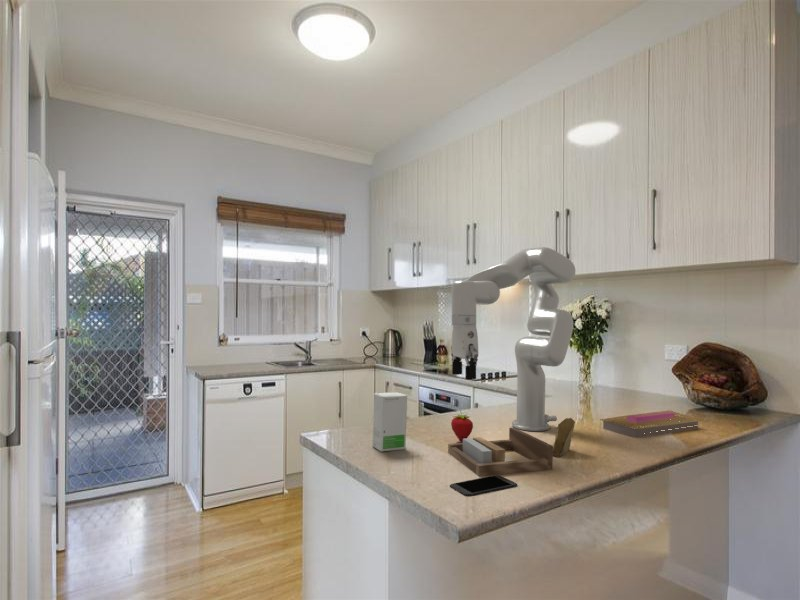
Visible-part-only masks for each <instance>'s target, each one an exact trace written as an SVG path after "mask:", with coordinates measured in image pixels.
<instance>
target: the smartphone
mask: <svg viewBox="0 0 800 600" xmlns="http://www.w3.org/2000/svg"><path fill="white" fill-rule="evenodd" d="M449 487H450V489H452V490H454V491H456V492H457V493H459V494H461V495H462V496H464V497H474V496H478V495H484V494H488V493H492V492H498V491H502V490H506V489H512V488H516V487H518V484H517V482H515V481H513V480H510V479H508V478H506V477H504V476H502V475H501V474H497V475H488V476H483V477H479V478H474V479H469V480H464V481H460V482H454V483H451V484H449Z"/></svg>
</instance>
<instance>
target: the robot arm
mask: <svg viewBox="0 0 800 600" xmlns="http://www.w3.org/2000/svg"><path fill="white" fill-rule="evenodd" d="M528 276H529V280H530V281H531V285H532V286H533V290H534V299H533V302H532V306H531V310H530V313H529V316H528V319H527V325H526V326H527V331H528V332H530V334H532V335H535V336H523V337H521V338H519V339H518V340H517V341H516V343H515V346H514V354H515V360H516V361H515V362H516V369H517V370H516V371H517V373H516V374H517V378H516V384H517V385H516V419H515V420H512V422H511V426H512V428H513V427H514V428H516V429H518V430H520V431H527V432H544V431H549V429H550V424H549V422H556V421H558V418H557V416H556V415H549V414H546V375H545V371H544V370H543V367H542V366H545V367H552V368H553V367H559V366H560V365H562V364H563V362H564V360H566V359H565V358H566V356H567V352H568V349H569V346H570V345H569V344H570V341H571V338H572V335H573V331H574V330H573V329H574V319H573V316H572V314H571V313H570V312H569V311H568V310H565V309H559V308H558V306H559V302H560V299H559V298H560V297H559V294H558V293H557V290H556V289H555V288H554V286H553V284H567V283H570V282H571V281H573V279H574V278H575V276H576V267H575V264H574V262H573V261H572V260H571V259H569V258H568V257H566V256H565V255H563V254H562V253H561V252H558V251H557V250H555V249H552V248H549V247H545V246H542V247H541V246H540V247H533V248H525V249H522V250H520V251H518V252H516V253H515V254H514V255H512V256H510V257H509V258H507V259H506V260H504V261H503V262H501V263H499V264H497V265H494V266H491V267H489V268H486V269H483V270H482V271H479V272H477V273H474V274H472V275H471V276H469V277H468V278H466V279H465V280H455V281H453V282H452V284H451V326H452V332H451V346H450V350H451V351H450V352H451V361H452V362H451V369H452V370H451V371H452V372H451V373H452V375H462V374H463V361H462V359H464V361H465V363H466V365H465V380H468V381H469V380H476V379H477V365H478V360H479V359H478V358H479V338H478V336H479V335H478V327H477V305H482V306H485V305H492V304H494V303H495V302H497V301H498V300H499V298H500V295H501V290H502V289H507V288H509V287H514V286H516V285H517V284H518V283H519V282H521V281H522V280H523V279H525V278H527V277H528ZM544 336H545V337H544Z"/></svg>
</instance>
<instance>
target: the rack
mask: <svg viewBox="0 0 800 600" xmlns="http://www.w3.org/2000/svg"><path fill="white" fill-rule="evenodd" d="M508 431H509V432H508V434H509V435H508V437H509V438H508V439H502V440H501V439H500V440H488V441H489V442H491V443H493V444H495V445H497V446H499V447H501V448H503V449H505V451H510V450H512V451H513V452H515V453H517V454H519V455H520V456H521V457H522V456H523V457H524V458H526V459H518V460H508V461H507V460H506V461H505V462H493V463H481V464H479V463H477V462H476V461H475V460H473V459H472V458H470V457H469V456H468V455H466V454H465V453H463V442H456V443H448V444H447V445H448V446H447V450H448V451H447V453H448V454H449V455H450V456H452V457H453V458H454V459H455V460H457V461H459V462H460V464H462V465H463V466H465V467H466V468H467V469H468V470H470V471H472V473H474V474H475V475H477V477H487V476H494V475H503V474H504V475H505V474H507V475H508V474H516V473H517V474H518V473H526V472H528V473H529V472H538V471H547V470H548V471H550V470H553V469H554V467H553V463H554V460H553V459H554V458H553V457H554V455H553V445H552V444H550V443H548V442H545V441H544V440H541V439H540V438H538V437H536V436H533V435H531V434H529V433H526V432H524V431H523V430H521V429H518V428H515V427H513V426H512V427H509V430H508Z"/></svg>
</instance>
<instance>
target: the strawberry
mask: <svg viewBox="0 0 800 600" xmlns="http://www.w3.org/2000/svg"><path fill="white" fill-rule="evenodd" d="M459 411H460V413H462V412H461V410H459ZM450 422H451V423H450V424H451V429H452V431H453V433H454V435H455V436H456V437H457V439H458V441H459V443H463V439H465V438H469V436H470V434H471V433H472V432H473V429H474V424H473V423H474V422H473V421H472V420H471V419H470V416H468V415H467V414H457V415H455V416H453V418H452V420H451V421H450Z"/></svg>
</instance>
